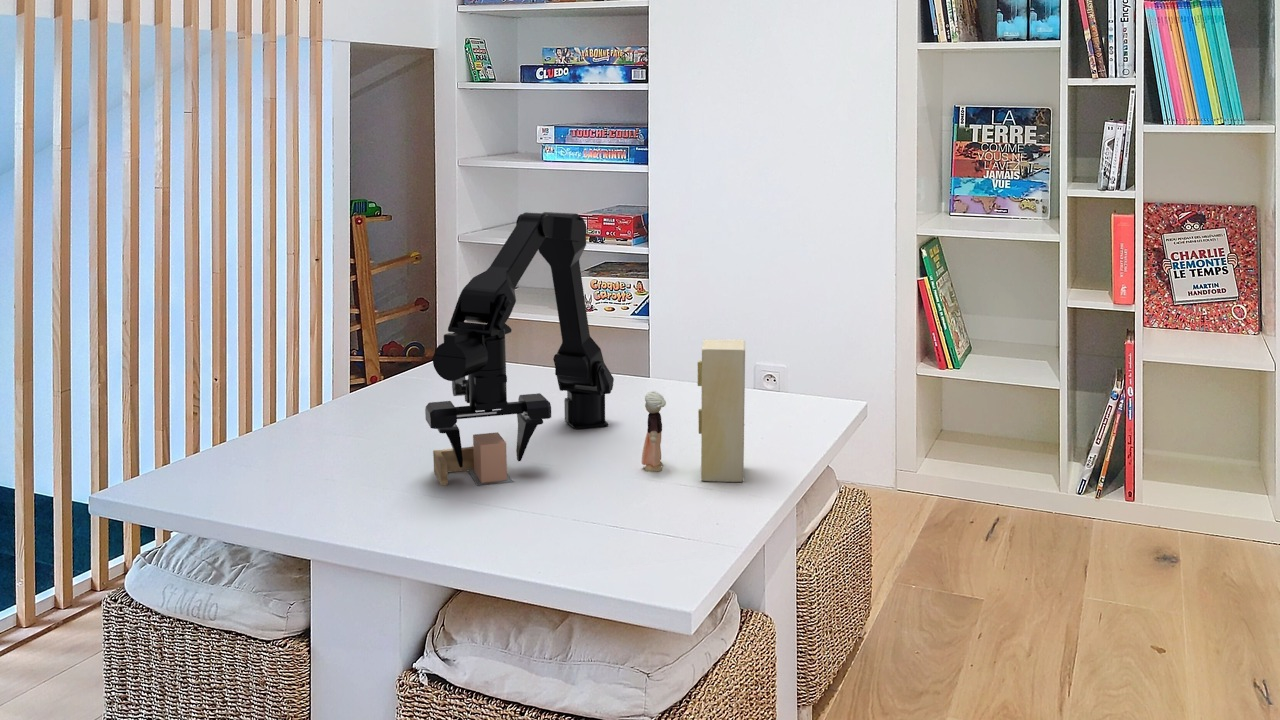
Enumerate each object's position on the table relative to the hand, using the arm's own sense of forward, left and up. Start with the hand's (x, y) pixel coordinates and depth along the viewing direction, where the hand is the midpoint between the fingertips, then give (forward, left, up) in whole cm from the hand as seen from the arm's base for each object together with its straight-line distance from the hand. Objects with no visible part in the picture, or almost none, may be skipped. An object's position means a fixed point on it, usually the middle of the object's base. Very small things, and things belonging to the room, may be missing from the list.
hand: (490, 463), depth 184 cm
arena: (+2, -1, -2) cm, 3 cm away
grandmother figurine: (-25, +5, -2) cm, 26 cm away
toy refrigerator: (-34, +11, -2) cm, 36 cm away
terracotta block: (0, 0, -2) cm, 2 cm away
